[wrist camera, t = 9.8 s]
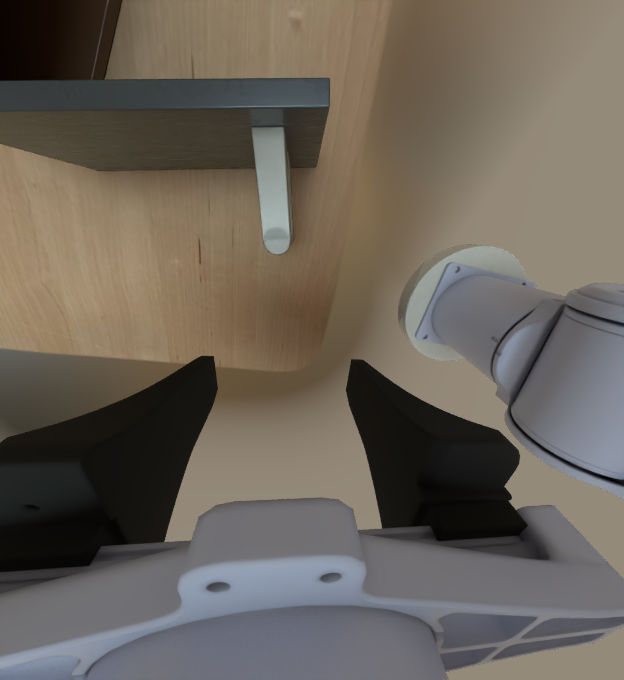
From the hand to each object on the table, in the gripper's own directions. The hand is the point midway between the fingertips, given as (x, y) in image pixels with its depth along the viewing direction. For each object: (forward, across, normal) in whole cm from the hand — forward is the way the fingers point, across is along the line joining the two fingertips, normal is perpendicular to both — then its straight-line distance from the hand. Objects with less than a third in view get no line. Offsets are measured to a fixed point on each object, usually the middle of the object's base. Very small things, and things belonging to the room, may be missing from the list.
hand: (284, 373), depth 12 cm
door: (+11, +6, -8) cm, 14 cm away
